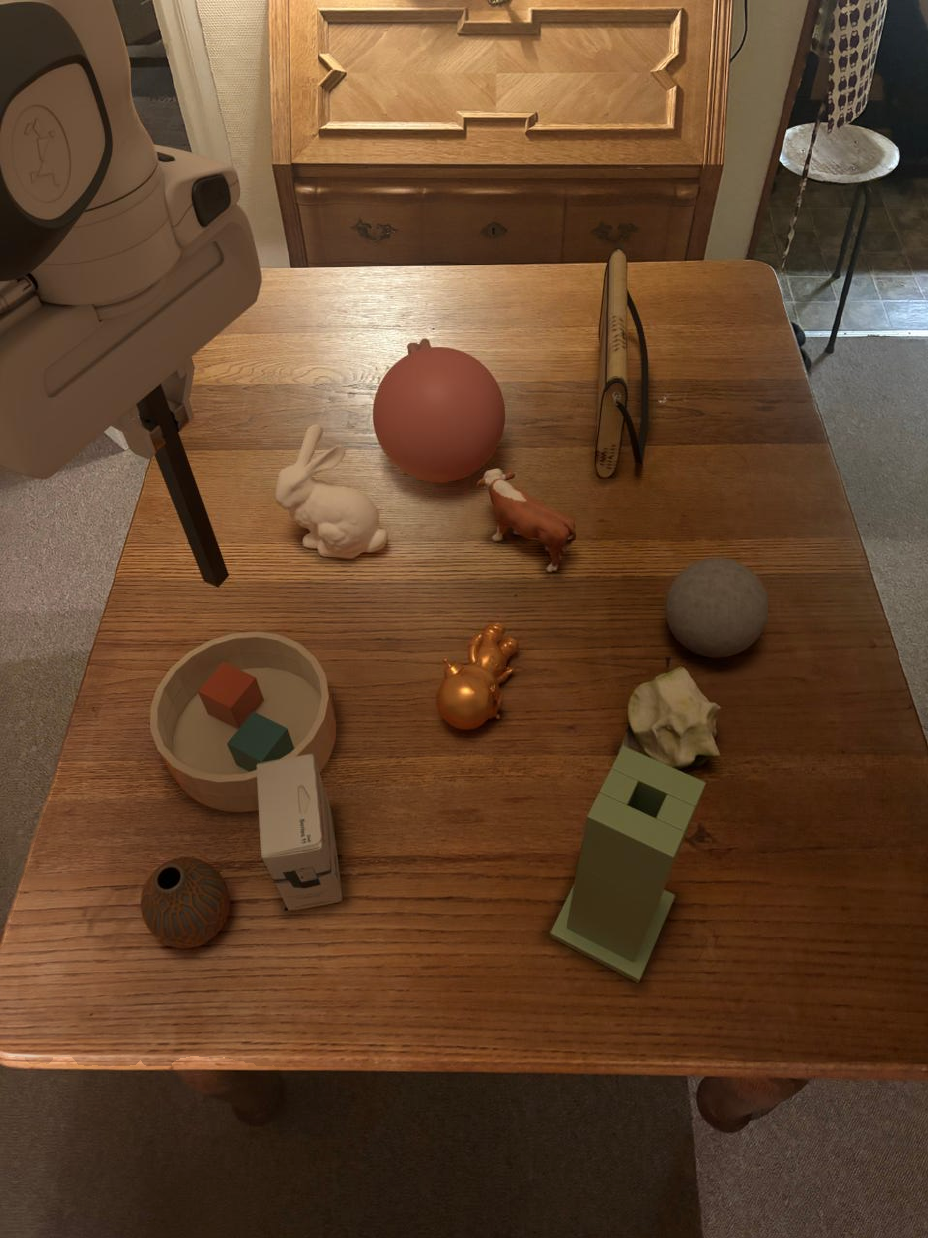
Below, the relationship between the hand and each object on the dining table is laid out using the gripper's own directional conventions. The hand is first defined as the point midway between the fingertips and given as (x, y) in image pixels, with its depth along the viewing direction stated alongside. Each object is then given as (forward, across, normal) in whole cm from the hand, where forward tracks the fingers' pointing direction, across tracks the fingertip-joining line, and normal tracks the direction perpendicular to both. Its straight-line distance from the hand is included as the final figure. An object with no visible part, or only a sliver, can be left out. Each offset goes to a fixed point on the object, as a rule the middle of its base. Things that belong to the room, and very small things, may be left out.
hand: (164, 436), depth 58 cm
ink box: (+39, -8, -10) cm, 41 cm away
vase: (+39, -17, -4) cm, 43 cm away
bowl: (+39, 0, +3) cm, 39 cm away
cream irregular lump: (+39, +19, -33) cm, 55 cm away
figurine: (+39, +15, -14) cm, 44 cm away
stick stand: (+39, 0, -35) cm, 52 cm away
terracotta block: (+36, 0, +6) cm, 37 cm away
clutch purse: (+39, +62, -10) cm, 74 cm away
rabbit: (+39, +26, +11) cm, 48 cm away
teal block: (+36, 0, 0) cm, 36 cm away
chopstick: (+14, 0, 0) cm, 14 cm away
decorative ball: (+39, +32, -32) cm, 60 cm away
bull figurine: (+39, +35, -9) cm, 53 cm away
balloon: (+39, +44, +7) cm, 59 cm away
